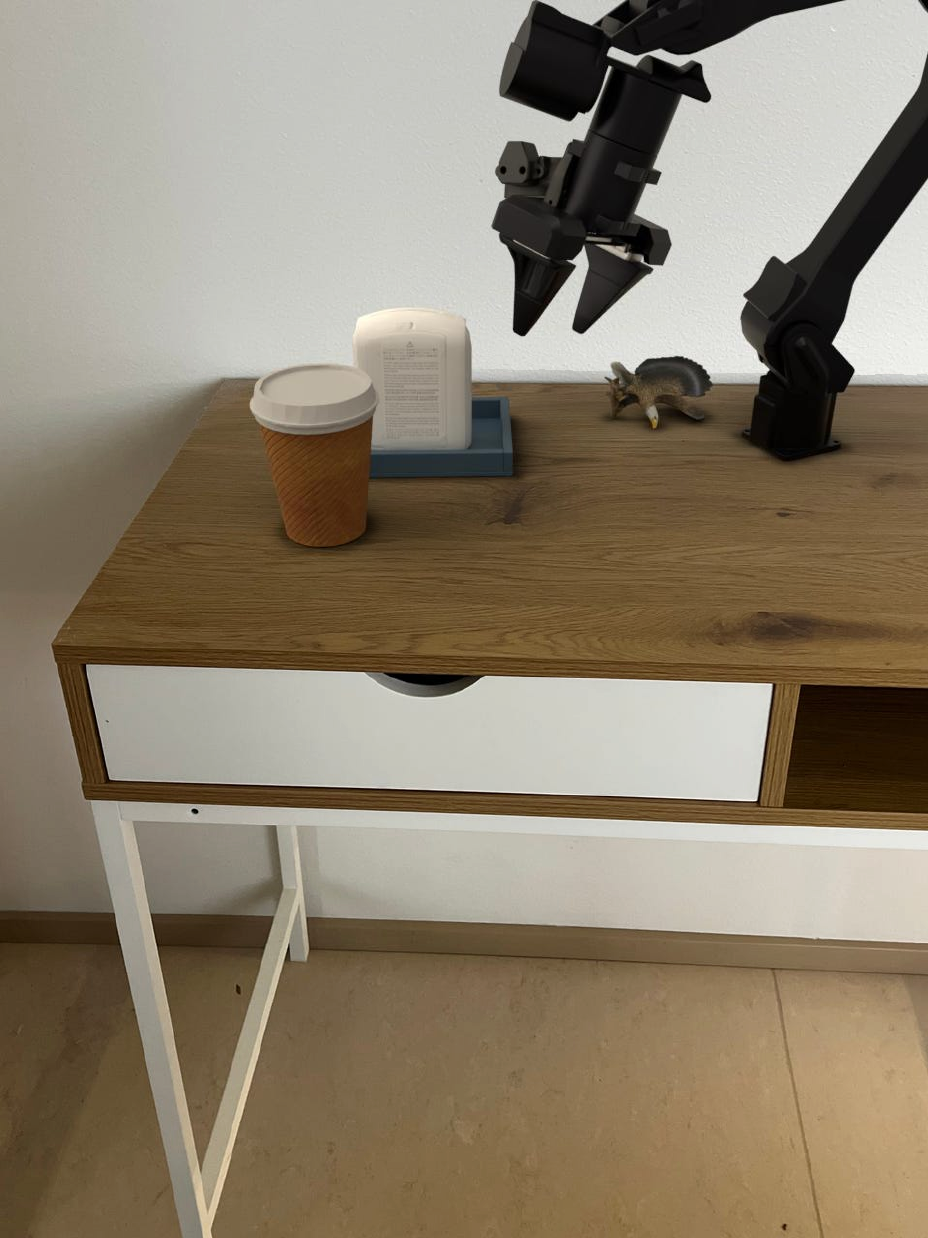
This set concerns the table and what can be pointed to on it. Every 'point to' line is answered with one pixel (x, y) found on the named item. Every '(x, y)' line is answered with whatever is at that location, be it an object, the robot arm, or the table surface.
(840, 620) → the table surface
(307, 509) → the disposable coffee cup
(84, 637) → the table surface
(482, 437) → the tray
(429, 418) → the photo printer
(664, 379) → the eagle figurine
